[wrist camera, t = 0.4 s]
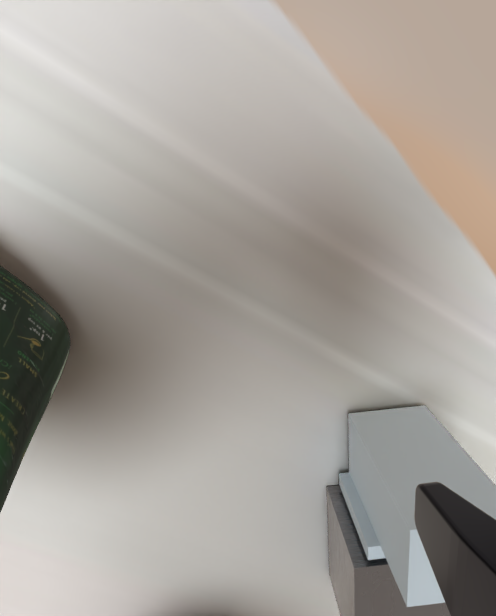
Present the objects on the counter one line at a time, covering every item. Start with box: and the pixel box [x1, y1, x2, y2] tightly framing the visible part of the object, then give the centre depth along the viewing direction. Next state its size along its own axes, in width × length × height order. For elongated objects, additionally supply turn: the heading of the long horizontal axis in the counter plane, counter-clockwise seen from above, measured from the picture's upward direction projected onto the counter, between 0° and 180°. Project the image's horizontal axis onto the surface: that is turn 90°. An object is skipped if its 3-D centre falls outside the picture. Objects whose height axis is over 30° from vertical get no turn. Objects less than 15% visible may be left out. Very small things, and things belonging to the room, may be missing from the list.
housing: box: [327, 485, 451, 616], centre depth 24 cm, size 7×7×6 cm
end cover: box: [339, 405, 496, 607], centre depth 22 cm, size 11×6×8 cm, turn 5°
